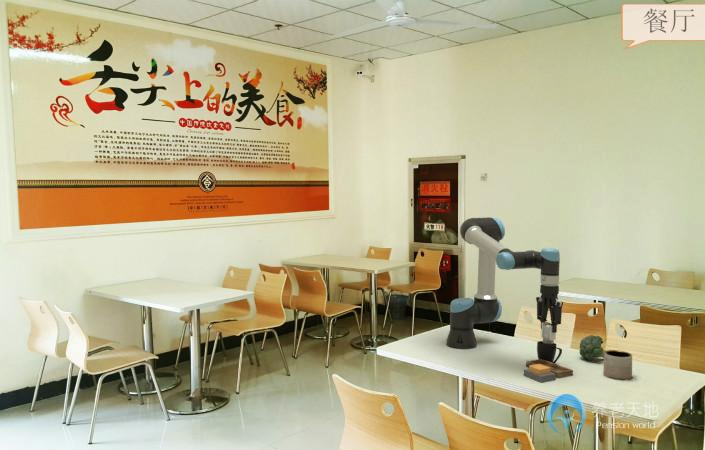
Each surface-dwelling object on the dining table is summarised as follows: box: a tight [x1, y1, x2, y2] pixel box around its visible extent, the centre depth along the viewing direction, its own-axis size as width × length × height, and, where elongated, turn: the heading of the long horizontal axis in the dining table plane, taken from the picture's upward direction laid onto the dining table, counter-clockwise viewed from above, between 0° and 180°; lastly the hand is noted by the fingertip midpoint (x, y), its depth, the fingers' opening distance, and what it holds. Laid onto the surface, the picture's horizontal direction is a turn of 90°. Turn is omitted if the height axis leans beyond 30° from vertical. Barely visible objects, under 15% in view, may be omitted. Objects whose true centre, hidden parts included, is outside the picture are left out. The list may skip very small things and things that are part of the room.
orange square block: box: [528, 364, 550, 375], centre depth 229 cm, size 6×6×3 cm
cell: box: [542, 322, 555, 344], centre depth 237 cm, size 4×4×9 cm
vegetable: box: [579, 334, 608, 362], centre depth 254 cm, size 12×13×15 cm
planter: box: [602, 349, 633, 381], centre depth 231 cm, size 11×11×10 cm
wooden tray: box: [525, 358, 574, 379], centre depth 238 cm, size 18×9×2 cm, turn 26°
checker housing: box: [523, 368, 557, 384], centre depth 229 cm, size 10×8×2 cm
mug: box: [536, 340, 563, 364], centre depth 248 cm, size 8×12×10 cm
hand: (548, 338), depth 237 cm, fingers closed on cell, 4 cm apart
